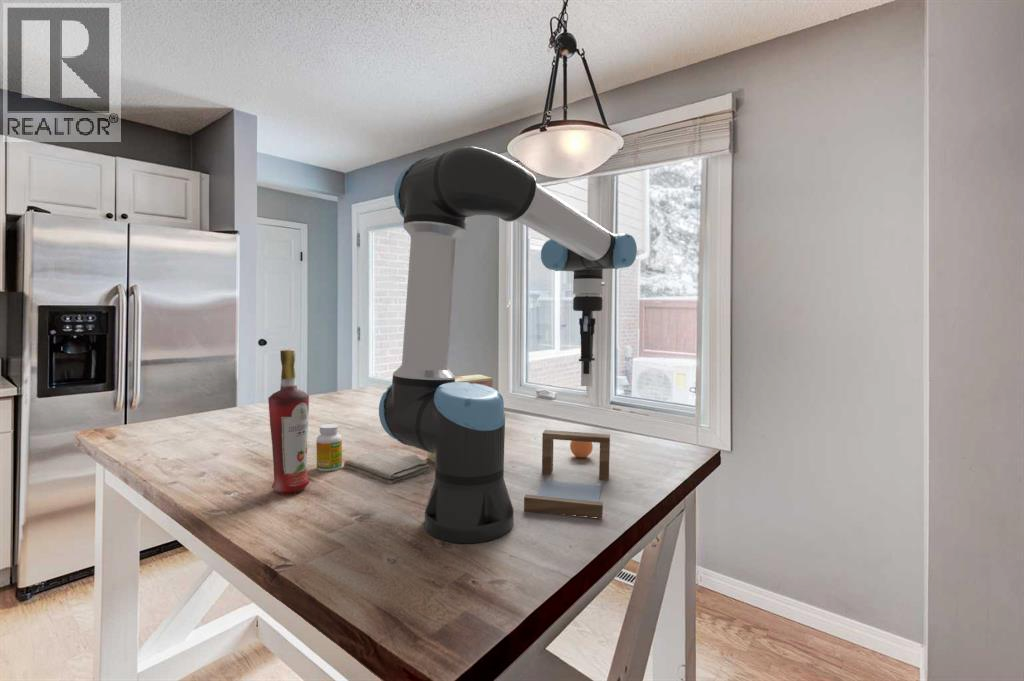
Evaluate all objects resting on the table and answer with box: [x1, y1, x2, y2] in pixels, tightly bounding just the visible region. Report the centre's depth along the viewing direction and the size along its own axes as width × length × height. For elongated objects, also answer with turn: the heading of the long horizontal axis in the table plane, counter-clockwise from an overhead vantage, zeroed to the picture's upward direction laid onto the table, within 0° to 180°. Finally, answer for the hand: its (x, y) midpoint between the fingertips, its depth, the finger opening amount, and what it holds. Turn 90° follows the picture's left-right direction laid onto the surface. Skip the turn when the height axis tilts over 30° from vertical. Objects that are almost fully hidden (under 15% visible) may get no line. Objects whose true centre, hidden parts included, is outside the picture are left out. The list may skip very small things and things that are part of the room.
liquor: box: [267, 349, 310, 496], centre depth 97 cm, size 7×7×28 cm
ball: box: [569, 441, 594, 459], centre depth 122 cm, size 6×6×6 cm
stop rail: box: [523, 493, 604, 519], centre depth 89 cm, size 2×14×2 cm, turn 77°
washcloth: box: [343, 447, 432, 485], centre depth 112 cm, size 12×18×3 cm, turn 53°
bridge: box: [541, 429, 611, 480], centre depth 109 cm, size 3×14×9 cm, turn 76°
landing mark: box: [536, 479, 603, 502], centre depth 98 cm, size 12×12×1 cm
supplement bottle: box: [316, 423, 343, 472], centre depth 112 cm, size 5×5×10 cm
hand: (586, 385), depth 130 cm, fingers closed
